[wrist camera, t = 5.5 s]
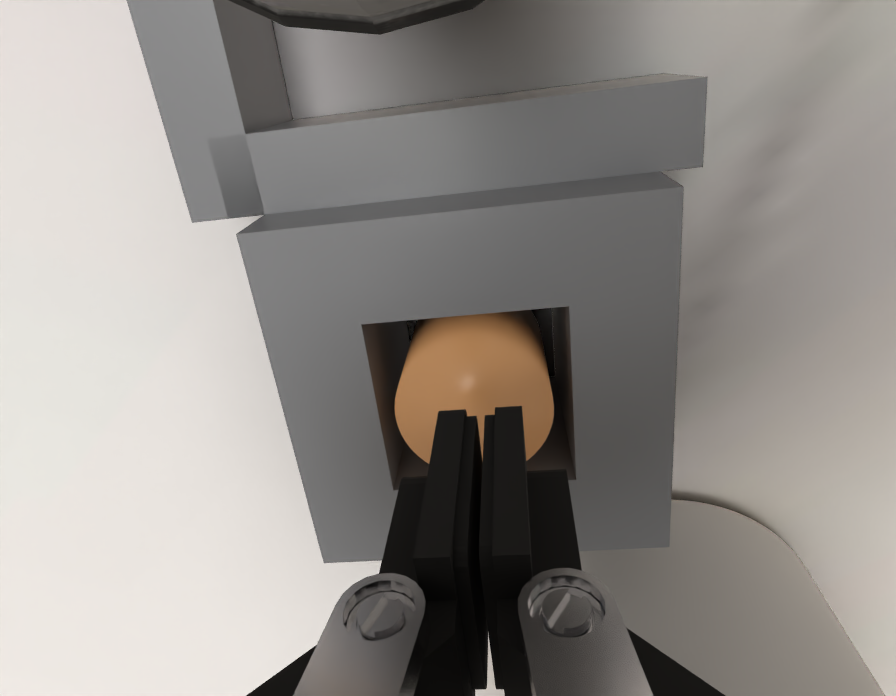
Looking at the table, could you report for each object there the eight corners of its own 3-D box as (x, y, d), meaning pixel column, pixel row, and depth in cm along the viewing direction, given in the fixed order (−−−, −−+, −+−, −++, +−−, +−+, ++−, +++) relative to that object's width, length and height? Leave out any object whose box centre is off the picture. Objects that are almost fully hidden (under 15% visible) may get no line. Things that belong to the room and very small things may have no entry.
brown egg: (538, 278, 18) (549, 332, 14) (545, 396, 20) (557, 472, 16) (404, 290, 18) (382, 346, 15) (421, 405, 20) (406, 481, 16)
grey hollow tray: (677, -561, 13) (818, -1028, 7) (654, 428, 23) (706, 545, 17) (90, -426, 14) (-161, -730, 9) (311, 451, 24) (259, 566, 19)
